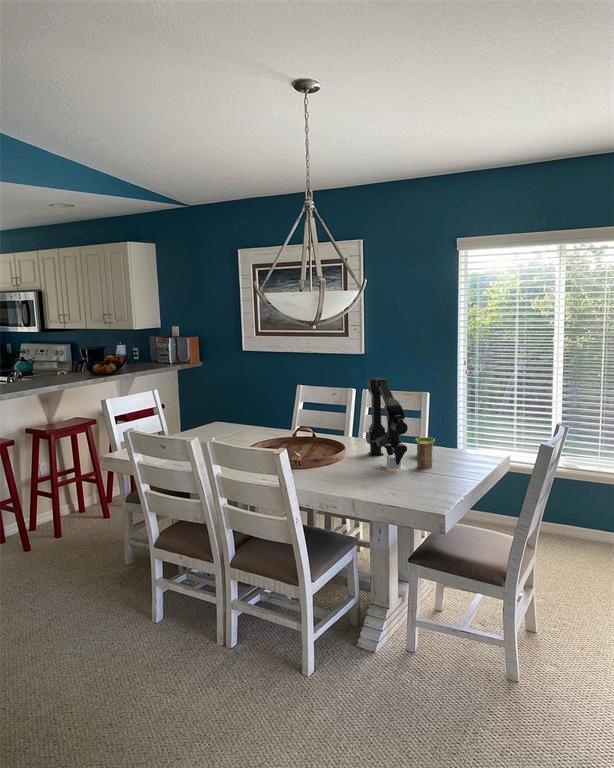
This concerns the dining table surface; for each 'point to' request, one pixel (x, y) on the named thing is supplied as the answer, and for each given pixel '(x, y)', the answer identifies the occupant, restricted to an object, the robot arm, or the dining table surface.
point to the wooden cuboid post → (424, 455)
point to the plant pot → (426, 440)
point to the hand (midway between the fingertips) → (393, 462)
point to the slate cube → (392, 462)
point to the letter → (395, 468)
